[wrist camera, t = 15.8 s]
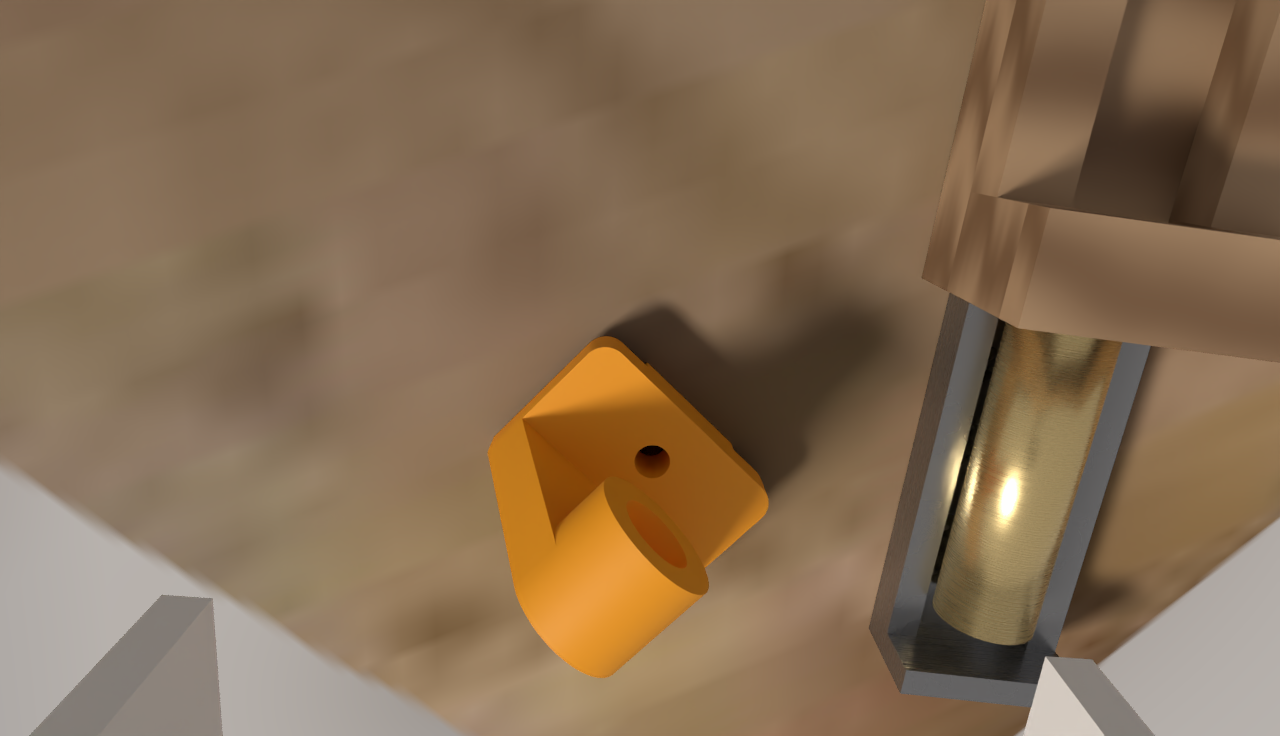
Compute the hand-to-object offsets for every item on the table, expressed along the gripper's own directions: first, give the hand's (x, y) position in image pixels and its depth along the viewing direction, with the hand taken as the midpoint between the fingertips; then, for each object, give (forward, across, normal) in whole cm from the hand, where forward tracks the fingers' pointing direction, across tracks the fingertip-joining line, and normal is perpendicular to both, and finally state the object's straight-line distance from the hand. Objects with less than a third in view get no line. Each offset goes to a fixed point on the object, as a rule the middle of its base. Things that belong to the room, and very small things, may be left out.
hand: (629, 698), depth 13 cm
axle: (+24, +18, -5) cm, 30 cm away
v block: (+25, +18, -6) cm, 31 cm away
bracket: (+25, +1, -7) cm, 26 cm away
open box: (+26, +19, +9) cm, 33 cm away
